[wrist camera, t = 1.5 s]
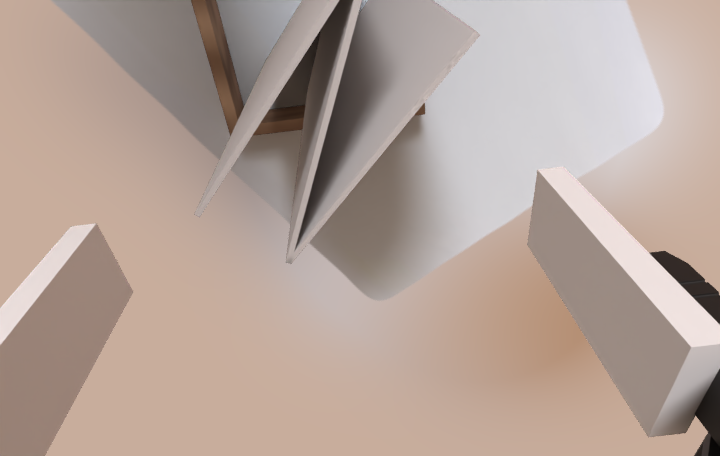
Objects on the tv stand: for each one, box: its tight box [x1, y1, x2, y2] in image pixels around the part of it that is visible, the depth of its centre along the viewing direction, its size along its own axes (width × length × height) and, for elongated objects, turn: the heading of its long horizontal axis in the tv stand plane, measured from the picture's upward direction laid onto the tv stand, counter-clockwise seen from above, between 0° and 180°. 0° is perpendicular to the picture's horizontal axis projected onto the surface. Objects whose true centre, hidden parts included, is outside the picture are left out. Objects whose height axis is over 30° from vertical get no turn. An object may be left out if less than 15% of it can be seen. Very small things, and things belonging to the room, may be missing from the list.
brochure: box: [194, 0, 480, 264], centre depth 32 cm, size 14×6×30 cm, turn 143°
